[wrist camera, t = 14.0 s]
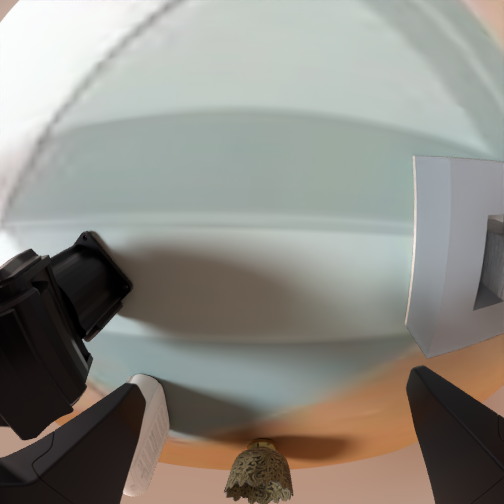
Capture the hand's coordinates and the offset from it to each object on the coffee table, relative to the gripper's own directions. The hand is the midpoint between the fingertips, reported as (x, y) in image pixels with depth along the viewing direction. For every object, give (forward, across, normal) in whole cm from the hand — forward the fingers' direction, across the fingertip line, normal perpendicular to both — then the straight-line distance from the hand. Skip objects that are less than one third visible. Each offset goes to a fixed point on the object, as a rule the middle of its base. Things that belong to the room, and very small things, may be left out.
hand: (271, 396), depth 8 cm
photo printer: (+13, +16, +17) cm, 26 cm away
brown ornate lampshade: (+13, +4, +25) cm, 28 cm away
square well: (+13, -18, +1) cm, 22 cm away
